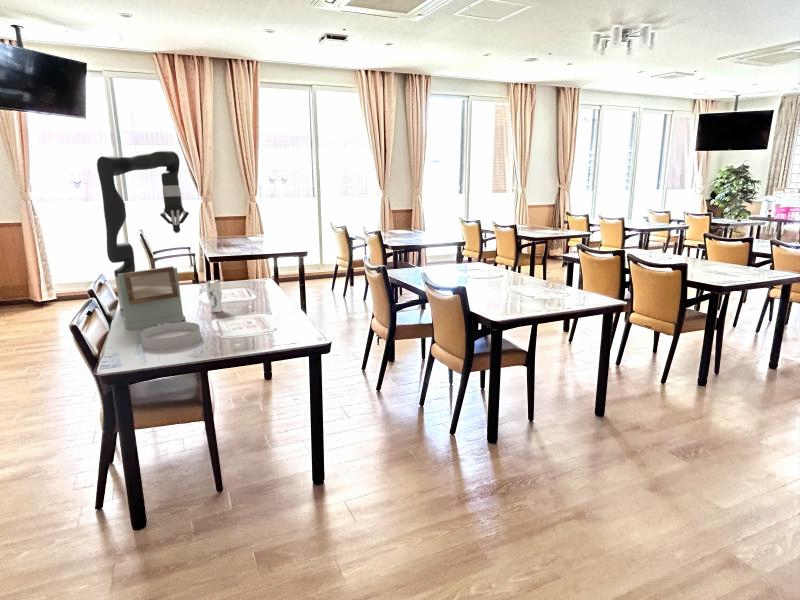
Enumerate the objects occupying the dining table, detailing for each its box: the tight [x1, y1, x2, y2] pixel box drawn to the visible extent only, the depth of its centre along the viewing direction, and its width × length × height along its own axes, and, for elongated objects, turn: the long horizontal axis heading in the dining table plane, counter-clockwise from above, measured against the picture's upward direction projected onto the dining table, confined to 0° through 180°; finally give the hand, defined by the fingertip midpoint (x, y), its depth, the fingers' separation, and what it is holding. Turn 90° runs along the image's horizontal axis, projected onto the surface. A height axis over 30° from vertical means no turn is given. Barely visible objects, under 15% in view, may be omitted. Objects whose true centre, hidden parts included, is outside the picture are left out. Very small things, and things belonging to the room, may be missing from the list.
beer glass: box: [205, 279, 224, 314], centre depth 250 cm, size 7×7×15 cm
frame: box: [123, 265, 179, 305], centre depth 228 cm, size 2×20×14 cm, turn 124°
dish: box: [140, 321, 202, 350], centre depth 207 cm, size 22×22×5 cm
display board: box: [118, 266, 187, 331], centre depth 232 cm, size 12×24×24 cm, turn 124°
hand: (176, 232), depth 243 cm, fingers closed
